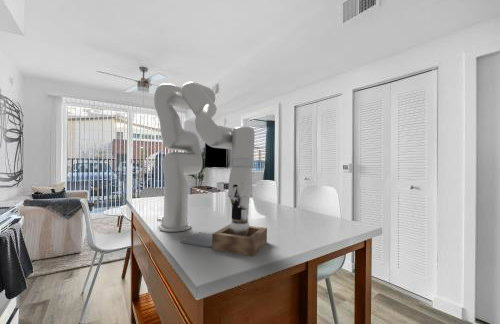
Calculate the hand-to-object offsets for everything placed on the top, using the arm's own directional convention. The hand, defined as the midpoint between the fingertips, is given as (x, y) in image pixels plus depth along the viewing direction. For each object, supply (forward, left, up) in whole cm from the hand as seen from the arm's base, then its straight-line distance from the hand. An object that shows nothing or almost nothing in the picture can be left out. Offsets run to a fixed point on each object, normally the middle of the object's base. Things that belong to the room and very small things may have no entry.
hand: (240, 216), depth 81 cm
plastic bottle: (0, 0, -7) cm, 7 cm away
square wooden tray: (+1, 0, -10) cm, 10 cm away
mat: (-13, 0, -10) cm, 17 cm away
